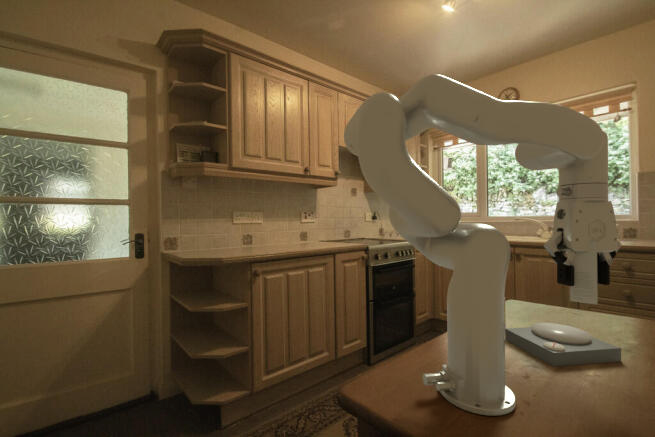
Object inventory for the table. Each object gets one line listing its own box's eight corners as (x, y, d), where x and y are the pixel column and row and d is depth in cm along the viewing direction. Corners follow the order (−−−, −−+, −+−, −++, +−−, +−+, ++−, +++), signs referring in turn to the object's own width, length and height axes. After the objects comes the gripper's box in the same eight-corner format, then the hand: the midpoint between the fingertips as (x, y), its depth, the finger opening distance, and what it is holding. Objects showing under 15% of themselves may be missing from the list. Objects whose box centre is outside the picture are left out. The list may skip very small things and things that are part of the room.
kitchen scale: (554, 366, 66) (553, 348, 66) (505, 339, 81) (505, 324, 81) (621, 361, 69) (620, 343, 69) (561, 336, 84) (561, 321, 84)
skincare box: (569, 295, 64) (569, 238, 64) (596, 298, 61) (596, 239, 61) (568, 301, 59) (568, 239, 59) (598, 305, 56) (597, 240, 56)
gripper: (560, 192, 55) (560, 289, 55) (642, 193, 58) (642, 287, 58) (528, 195, 63) (528, 281, 63) (601, 196, 65) (602, 279, 65)
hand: (583, 283), depth 60 cm, fingers closed on skincare box, 7 cm apart
